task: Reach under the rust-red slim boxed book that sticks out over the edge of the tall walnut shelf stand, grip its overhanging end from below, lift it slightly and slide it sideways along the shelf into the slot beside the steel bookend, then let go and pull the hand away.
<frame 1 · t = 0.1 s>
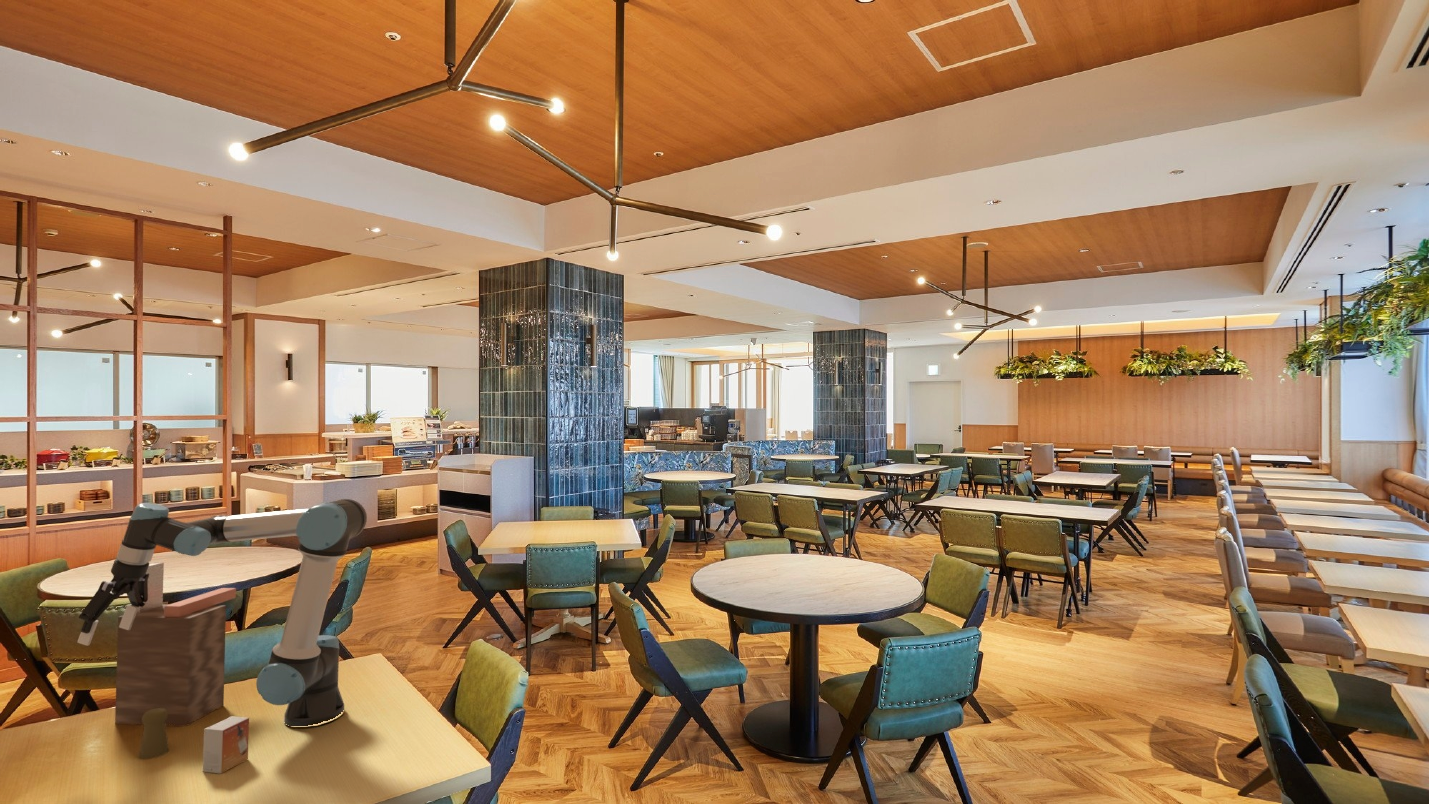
hand: (104, 635, 189), 28 cm above the table, tool tilted 20°, fingers open, 13 cm apart
small box: (225, 766, 175), on the table
shelf stand: (170, 714, 205), on the table
book: (201, 606, 211), point 30 cm above the table, touching shelf stand
cork: (153, 754, 182), on the table
bookend: (147, 609, 208), resting on shelf stand
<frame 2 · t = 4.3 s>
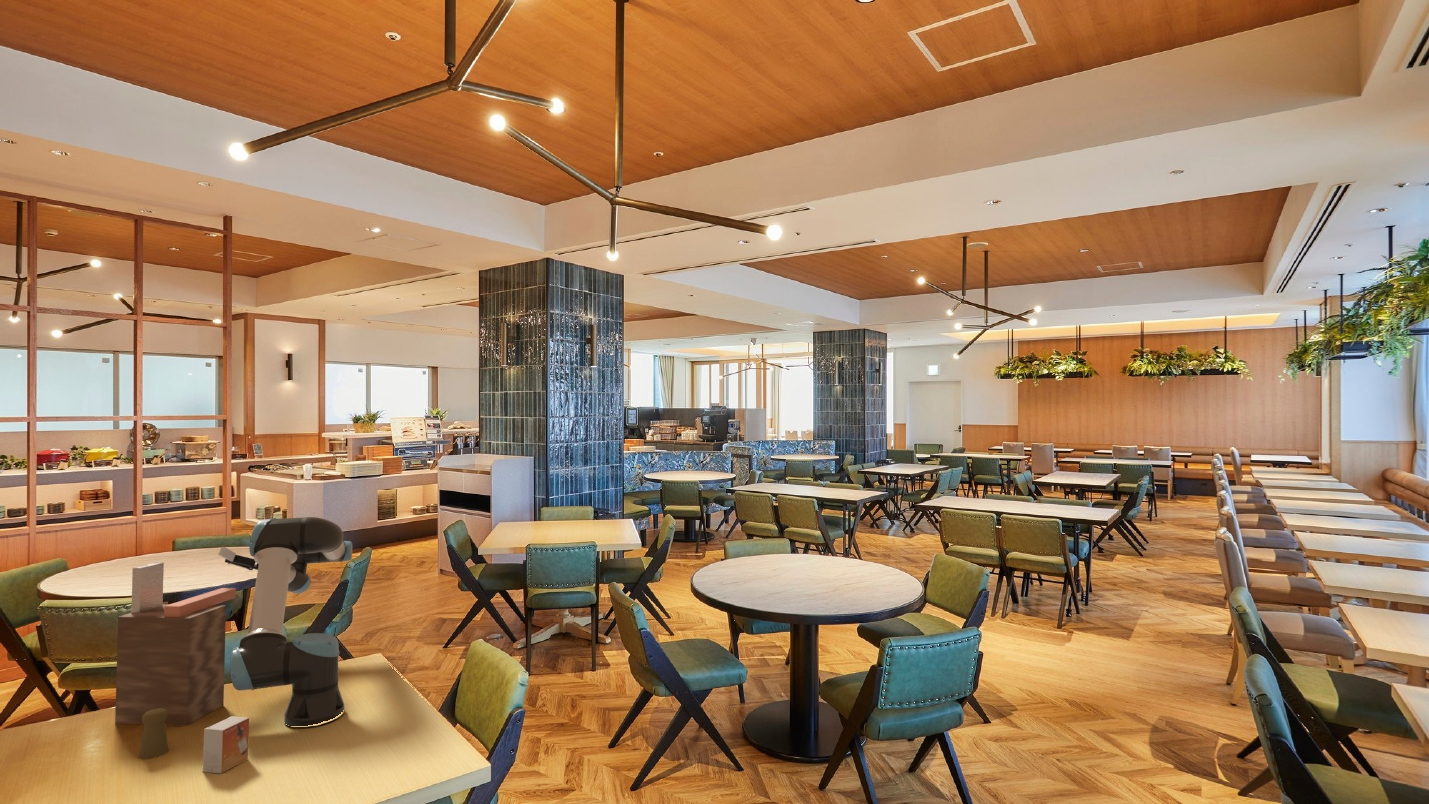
hand: (241, 550, 227), 44 cm above the table, tool pointing upward, fingers open, 13 cm apart
nothing on the table moved.
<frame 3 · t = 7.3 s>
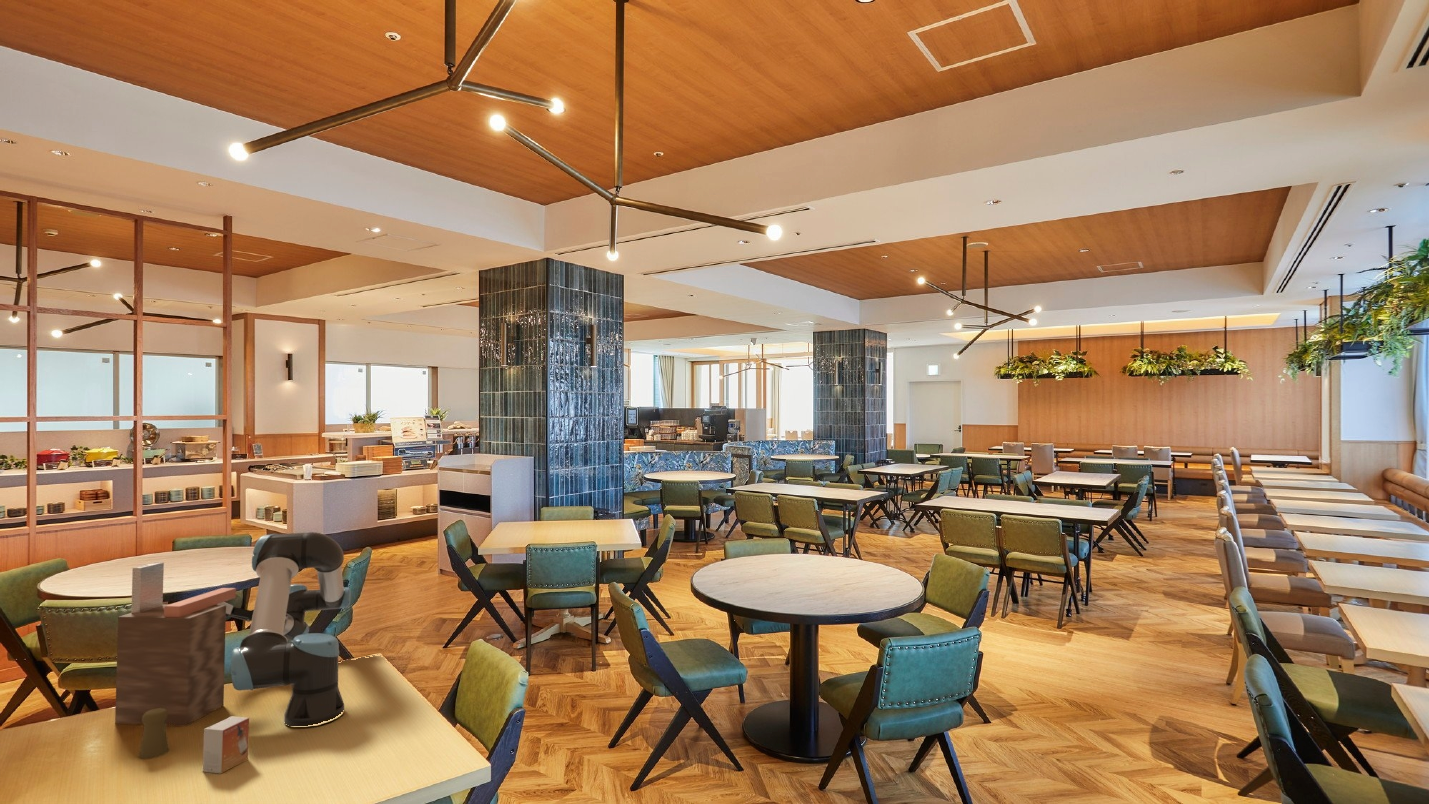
hand: (238, 604, 226), 27 cm above the table, tool pointing upward, fingers open, 13 cm apart
nothing on the table moved.
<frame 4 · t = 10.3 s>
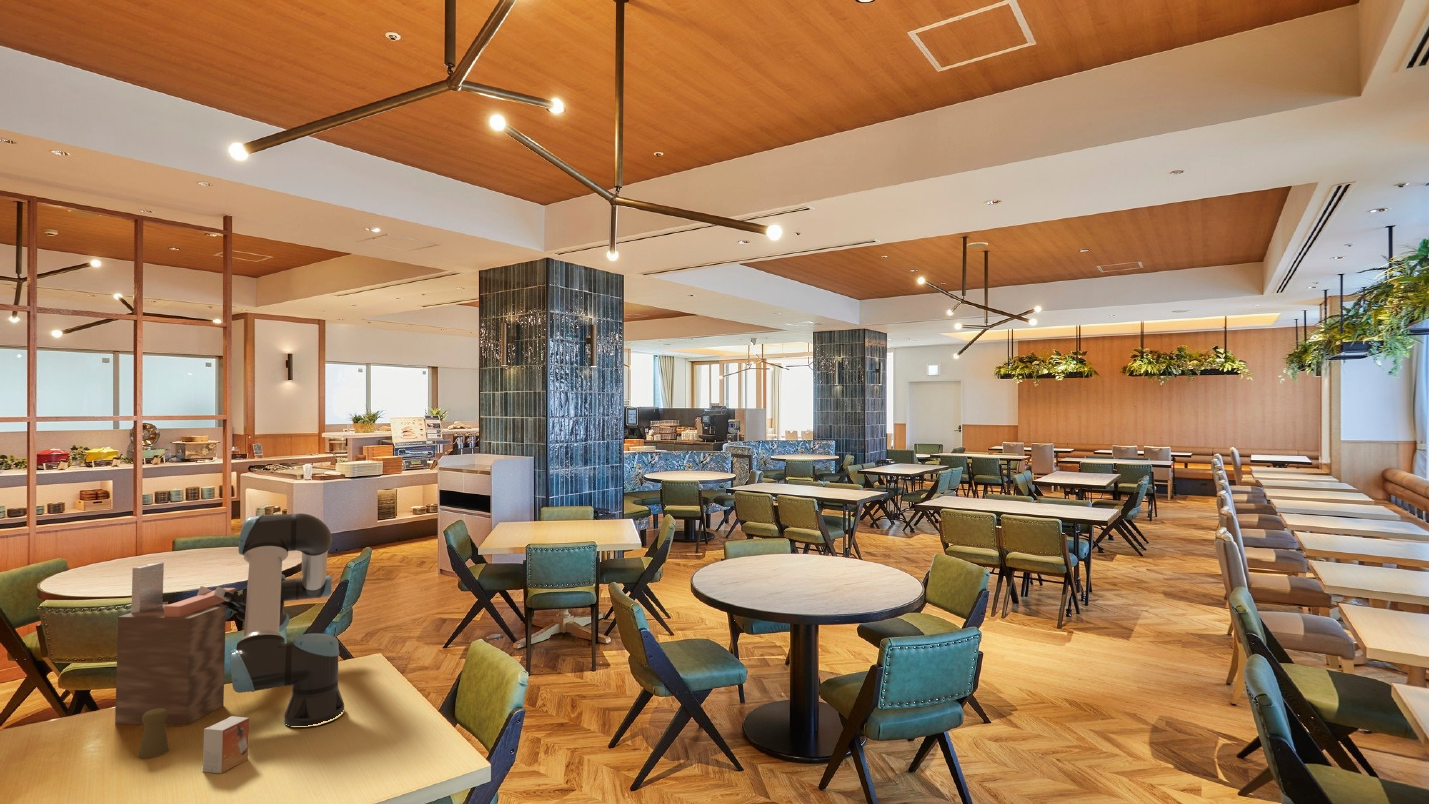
hand: (208, 590, 214), 34 cm above the table, tool pointing upward, fingers closed on book, 4 cm apart
book: (201, 606, 211), point 30 cm above the table, touching gripper, shelf stand
everything else where it was.
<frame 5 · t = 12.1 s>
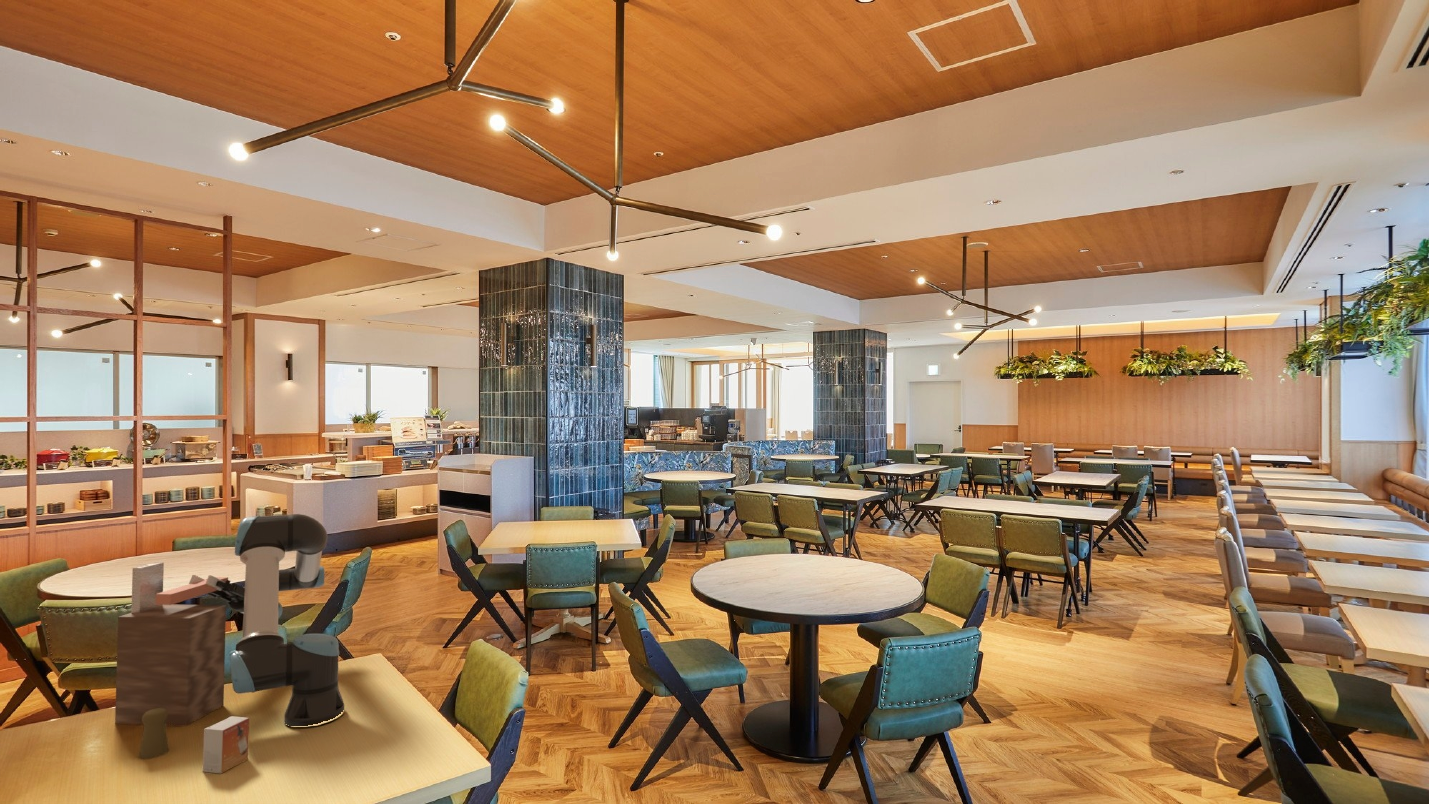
hand: (200, 579, 214), 37 cm above the table, tool pointing upward, fingers closed on book, 4 cm apart
book: (193, 595, 212), point 33 cm above the table, touching gripper
everything else where it was.
when the fingers open (35 cm above the table, at t = 14.0 s): book stays where it is, resting on shelf stand.
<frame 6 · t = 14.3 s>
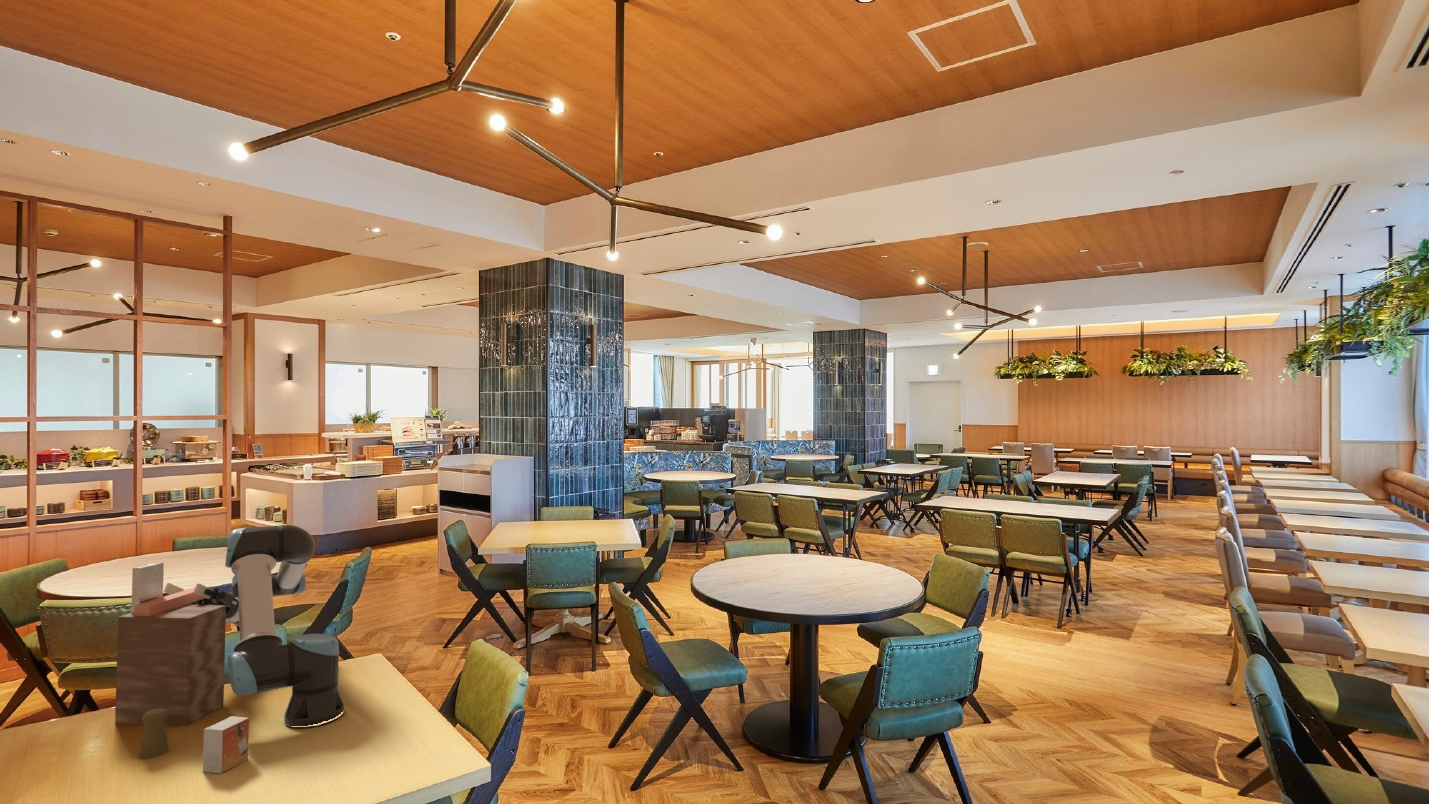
hand: (181, 587, 215), 35 cm above the table, tool pointing upward, fingers open, 9 cm apart
book: (173, 606, 212), point 30 cm above the table, touching shelf stand
everything else where it was.
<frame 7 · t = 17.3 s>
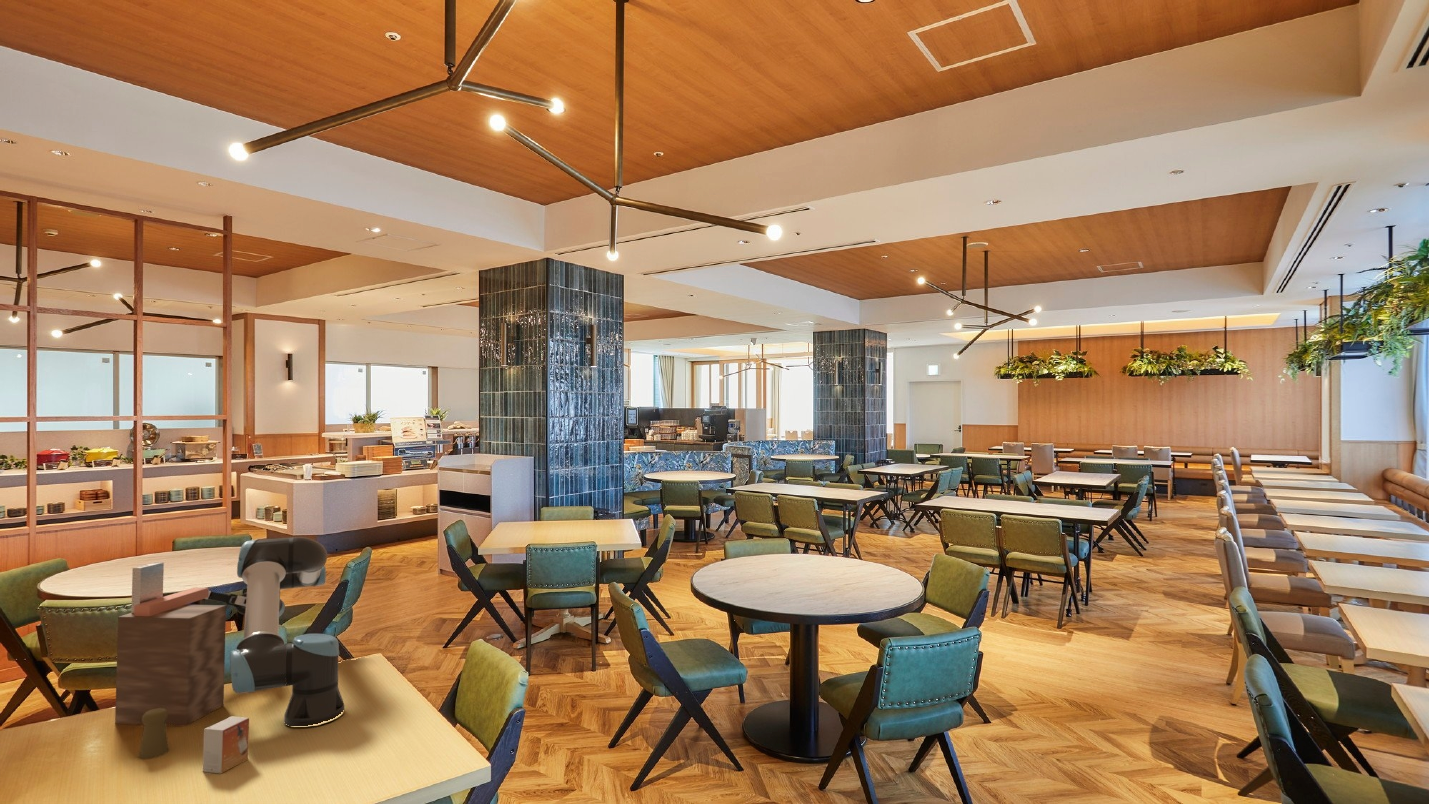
hand: (216, 595, 226), 30 cm above the table, tool pointing upward, fingers open, 13 cm apart
nothing on the table moved.
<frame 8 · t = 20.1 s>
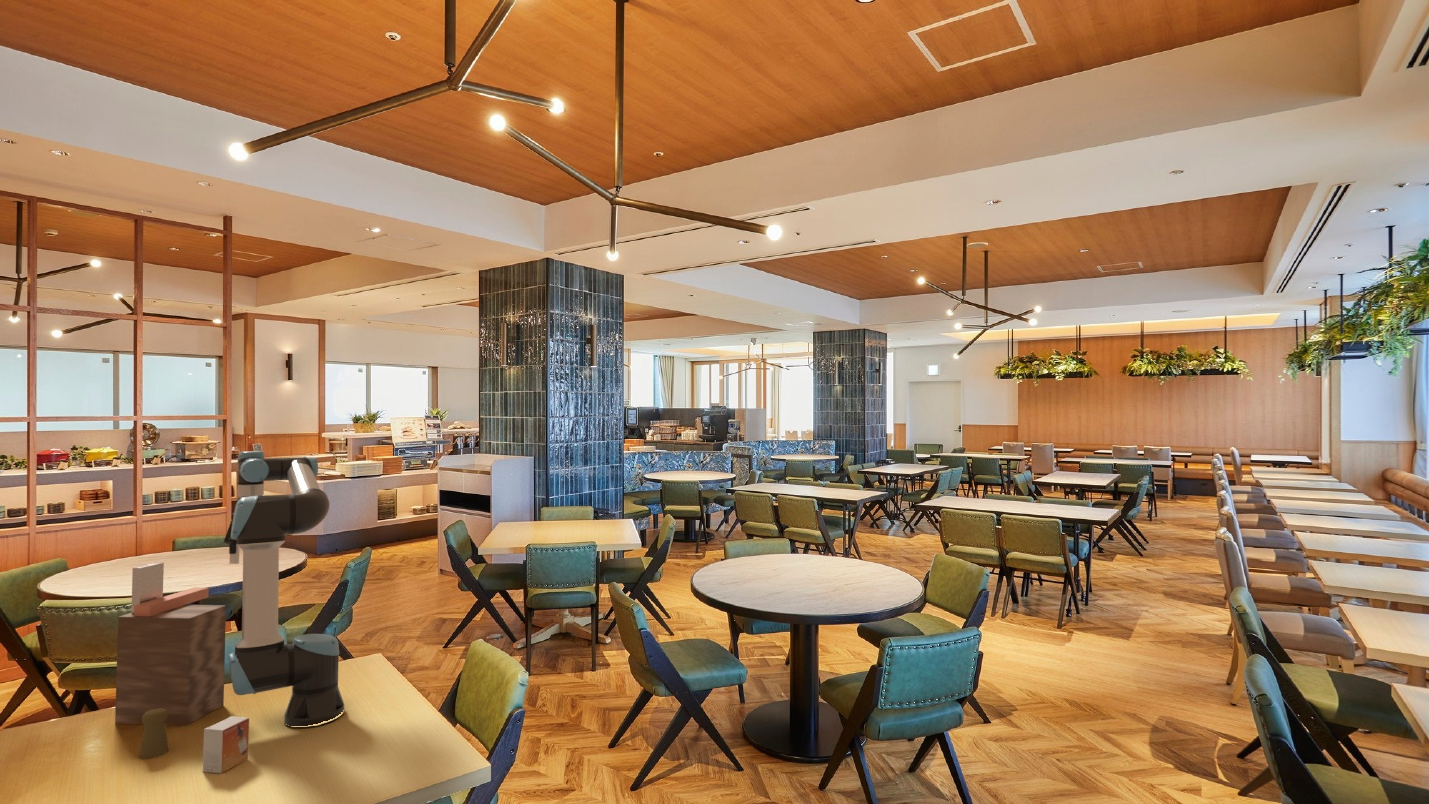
hand: (248, 559, 239), 39 cm above the table, tool pointing down, fingers open, 13 cm apart
nothing on the table moved.
at the end: book 0.1 cm from the target spot on the shelf stand, point 30.0 cm above the shelf stand's base; book tilted 0°; the gripper is holding nothing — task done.
